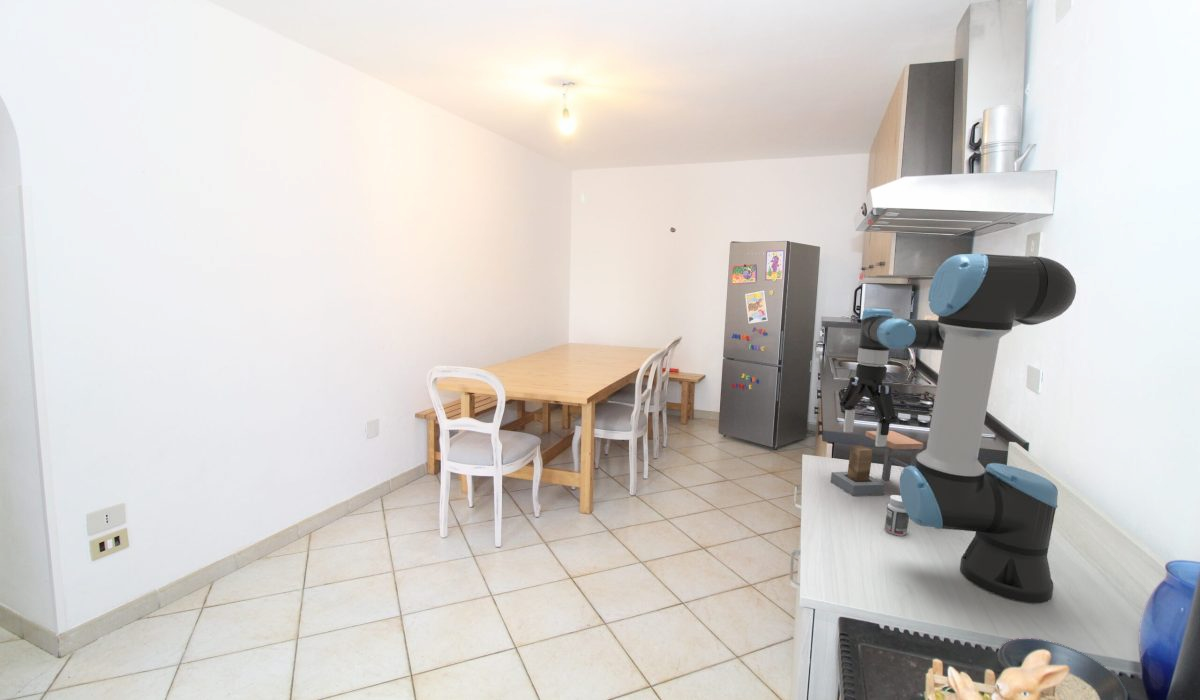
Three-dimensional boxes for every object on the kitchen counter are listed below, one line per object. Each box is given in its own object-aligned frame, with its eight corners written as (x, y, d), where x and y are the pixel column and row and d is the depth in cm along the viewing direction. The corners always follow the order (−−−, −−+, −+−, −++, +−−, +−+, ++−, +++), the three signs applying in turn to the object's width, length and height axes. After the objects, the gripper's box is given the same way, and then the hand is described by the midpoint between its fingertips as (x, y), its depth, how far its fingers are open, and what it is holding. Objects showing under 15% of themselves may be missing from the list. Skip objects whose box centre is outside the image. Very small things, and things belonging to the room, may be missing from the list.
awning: (916, 494, 154) (923, 443, 151) (888, 496, 152) (895, 444, 149) (886, 478, 165) (892, 430, 163) (859, 479, 163) (865, 431, 161)
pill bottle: (909, 531, 131) (913, 498, 129) (903, 538, 127) (908, 504, 126) (887, 524, 134) (892, 492, 133) (881, 530, 130) (886, 497, 129)
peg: (867, 490, 155) (872, 450, 153) (855, 491, 154) (860, 450, 152) (858, 485, 159) (863, 445, 157) (846, 485, 158) (850, 445, 156)
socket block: (884, 494, 153) (885, 484, 152) (852, 496, 151) (853, 485, 150) (860, 480, 162) (861, 471, 162) (830, 481, 160) (831, 472, 160)
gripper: (918, 372, 140) (908, 452, 142) (854, 357, 164) (846, 426, 167) (892, 371, 138) (882, 453, 141) (832, 357, 162) (824, 426, 165)
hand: (863, 438), depth 154 cm, fingers open, 13 cm apart
